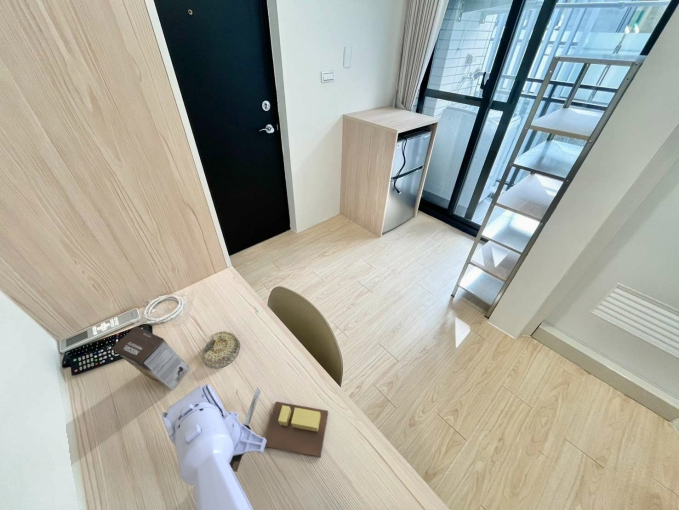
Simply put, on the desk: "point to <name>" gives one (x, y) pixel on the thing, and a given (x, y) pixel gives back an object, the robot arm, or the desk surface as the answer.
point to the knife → (236, 464)
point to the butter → (306, 419)
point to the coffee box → (152, 357)
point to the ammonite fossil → (221, 350)
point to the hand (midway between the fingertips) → (237, 448)
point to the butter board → (295, 433)
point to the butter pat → (284, 415)
